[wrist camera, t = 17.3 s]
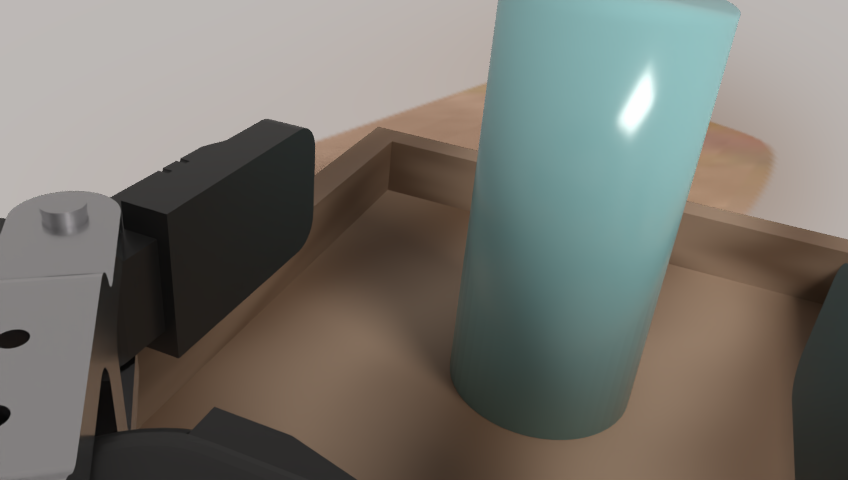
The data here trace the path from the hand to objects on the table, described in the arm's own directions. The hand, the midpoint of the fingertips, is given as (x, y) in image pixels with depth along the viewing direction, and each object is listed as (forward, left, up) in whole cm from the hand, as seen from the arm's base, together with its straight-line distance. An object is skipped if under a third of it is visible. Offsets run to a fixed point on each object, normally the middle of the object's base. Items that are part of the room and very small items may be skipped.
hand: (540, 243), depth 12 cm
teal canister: (0, -6, -7) cm, 10 cm away
